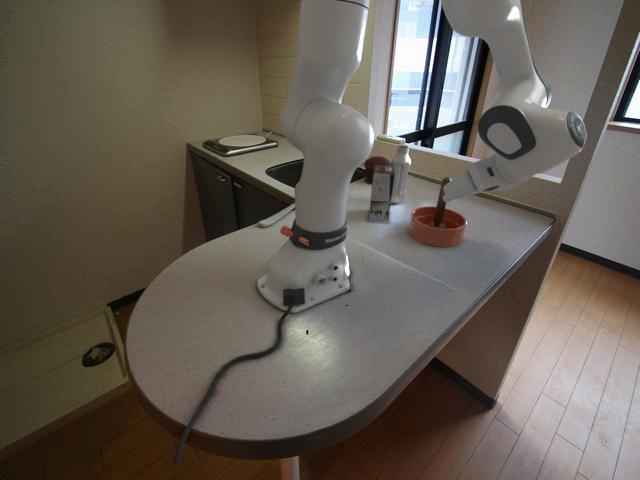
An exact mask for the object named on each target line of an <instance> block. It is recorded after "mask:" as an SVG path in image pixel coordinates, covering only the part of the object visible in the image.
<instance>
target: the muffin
mask: <svg viewBox="0 0 640 480" xmlns="http://www.w3.org/2000/svg"><path fill="white" fill-rule="evenodd" d="M391 162H392V161H390V159H388V158H387V157H385V156H380V155H374V156H371V157H368V158H367V159H366V161H365V162H364V163H363V167H364V173H365V174H364V175H365V182H367V183H369V184H372V182H373V174H374V167H375V165H390V166H391Z"/></svg>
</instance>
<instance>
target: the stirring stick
mask: <svg viewBox="0 0 640 480" xmlns="http://www.w3.org/2000/svg"><path fill="white" fill-rule="evenodd" d="M451 180H452V178H451V177H449V176H445V177H443V178H442V179H441V184H440V188H439V192H438V198H437V202H436V206H435V207H436V211H435V215H434V220H433V221H432V222H430V223H429V226H430V227H434V228H440V229H444V227H445V225H444V224H443V223H442V220H443V216H444V212H445V208H447V203H448V202H444V200H443V196H444V195H445V193H444V190H443V188H444V186H445V185H446V184H447V183H449V182H450V181H451Z"/></svg>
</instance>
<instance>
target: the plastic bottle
mask: <svg viewBox="0 0 640 480" xmlns="http://www.w3.org/2000/svg"><path fill="white" fill-rule="evenodd" d="M409 152H410V146H409V145H403V144H402V145H401V144H400V145H397V149H396V154H395V155H394V156H393V158H392V160H391V161H390V162H391V166H395V177H394V184H393V192H392V199H391V204H397V205H400V204H403V203H404V202H405V200H406V198H407V178H408V175H409V171H410V168H411V163H412V160H411V158H410V156H409Z"/></svg>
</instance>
